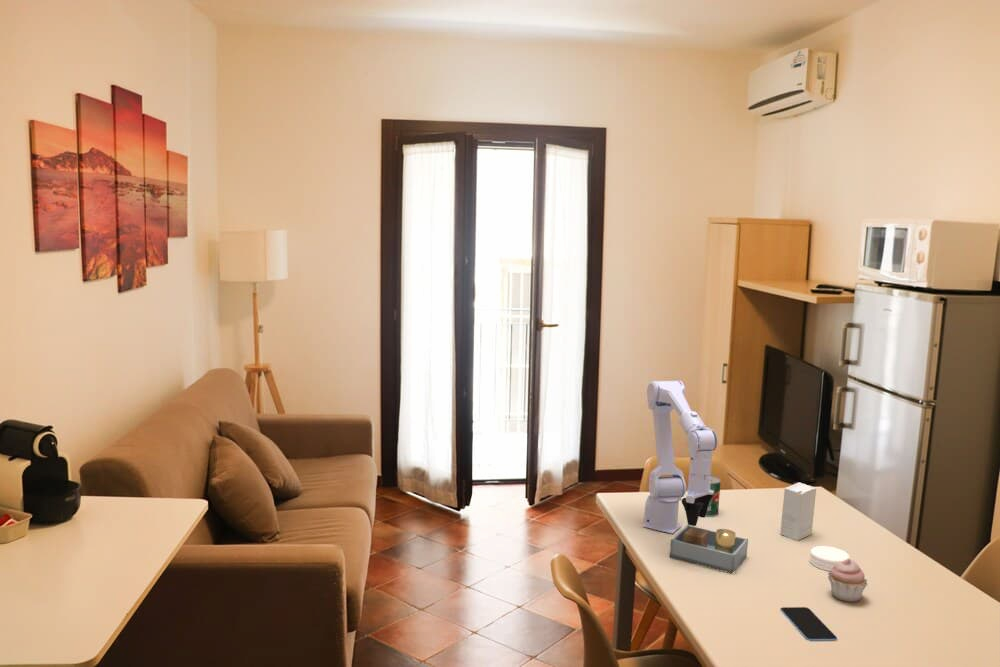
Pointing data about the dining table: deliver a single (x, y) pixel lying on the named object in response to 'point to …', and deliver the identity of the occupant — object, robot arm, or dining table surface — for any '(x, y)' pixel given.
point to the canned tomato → (714, 501)
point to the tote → (708, 551)
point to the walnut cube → (696, 537)
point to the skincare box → (798, 511)
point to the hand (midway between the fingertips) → (696, 520)
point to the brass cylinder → (725, 540)
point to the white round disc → (827, 557)
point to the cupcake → (847, 581)
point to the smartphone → (808, 624)
